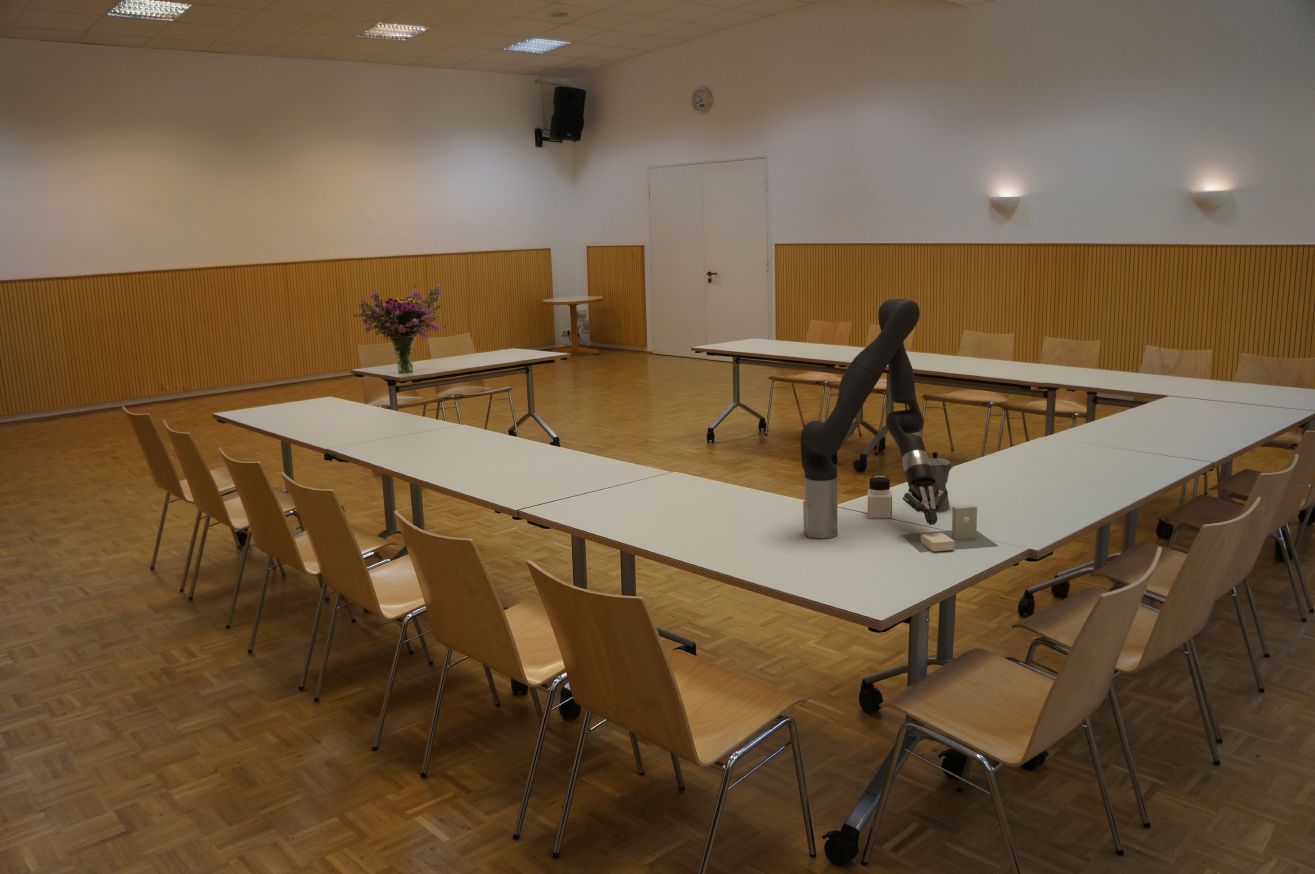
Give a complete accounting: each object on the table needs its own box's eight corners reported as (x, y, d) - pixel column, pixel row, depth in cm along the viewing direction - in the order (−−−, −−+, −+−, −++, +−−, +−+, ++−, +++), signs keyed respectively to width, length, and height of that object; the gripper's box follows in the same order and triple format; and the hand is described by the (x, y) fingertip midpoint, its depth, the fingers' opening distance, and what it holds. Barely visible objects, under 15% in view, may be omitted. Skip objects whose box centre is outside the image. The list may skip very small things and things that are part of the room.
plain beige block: (920, 543, 263) (933, 552, 254) (920, 534, 262) (933, 542, 254) (941, 541, 263) (954, 550, 254) (941, 532, 263) (954, 541, 254)
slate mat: (920, 554, 255) (920, 552, 255) (899, 536, 271) (899, 534, 271) (999, 548, 257) (999, 546, 257) (974, 530, 273) (974, 528, 273)
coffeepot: (961, 509, 293) (962, 453, 290) (941, 515, 288) (942, 458, 284) (921, 499, 306) (922, 445, 302) (902, 505, 300) (902, 450, 297)
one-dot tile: (955, 540, 264) (956, 508, 262) (952, 537, 266) (952, 506, 264) (976, 538, 264) (977, 507, 262) (972, 535, 267) (973, 504, 265)
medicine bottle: (891, 518, 287) (892, 480, 285) (867, 518, 289) (867, 480, 286) (891, 512, 294) (891, 474, 292) (867, 511, 296) (867, 474, 293)
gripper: (898, 463, 266) (913, 518, 256) (944, 461, 267) (960, 515, 257) (892, 477, 272) (906, 531, 262) (936, 475, 273) (952, 528, 264)
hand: (933, 523), depth 260 cm, fingers closed
